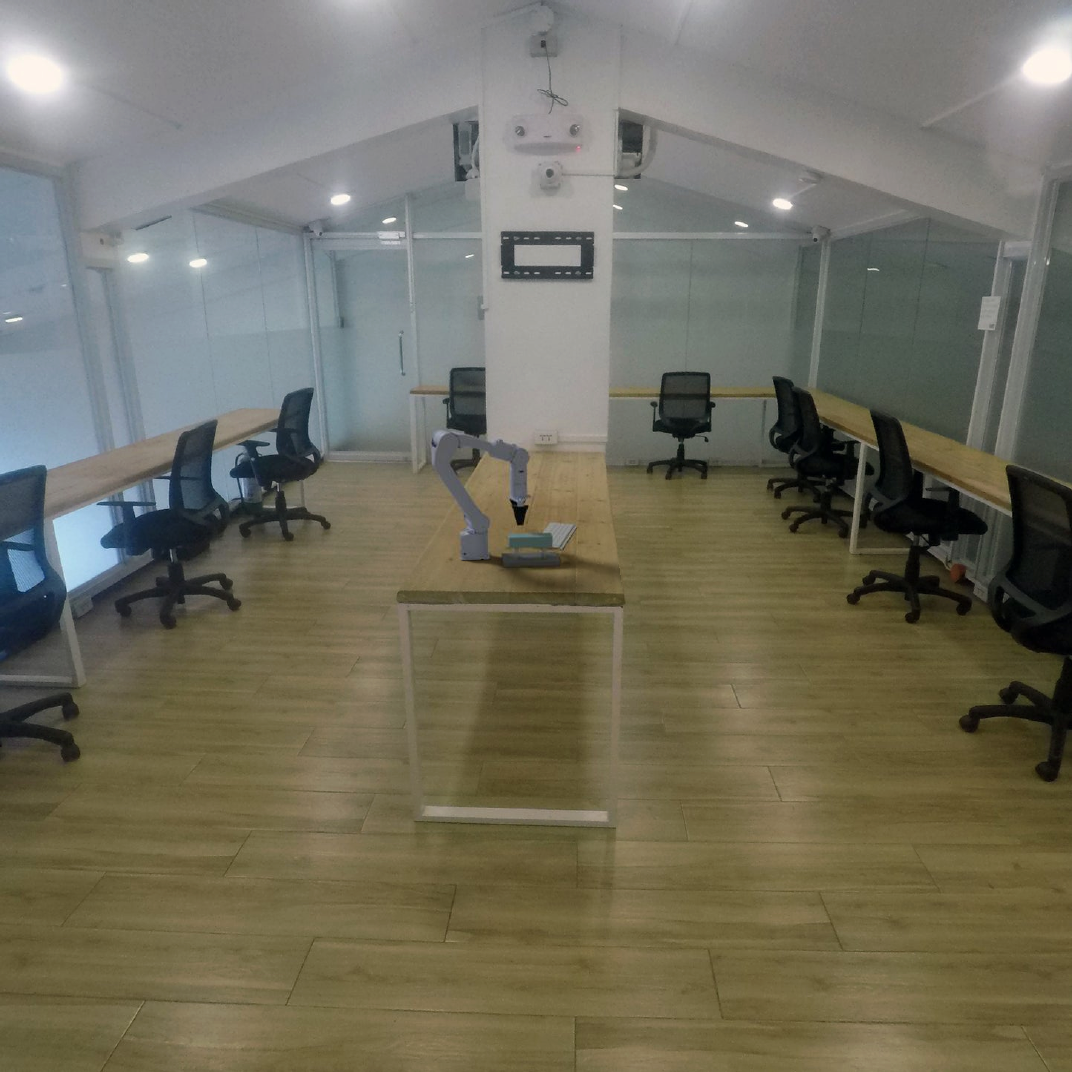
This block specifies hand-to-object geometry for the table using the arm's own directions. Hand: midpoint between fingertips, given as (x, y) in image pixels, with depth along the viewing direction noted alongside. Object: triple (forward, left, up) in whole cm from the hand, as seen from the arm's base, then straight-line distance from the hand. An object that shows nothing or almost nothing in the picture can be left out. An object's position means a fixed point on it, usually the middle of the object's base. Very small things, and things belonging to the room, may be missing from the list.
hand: (519, 522), depth 253 cm
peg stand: (+3, -11, -10) cm, 15 cm away
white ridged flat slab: (+15, +16, -11) cm, 25 cm away
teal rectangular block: (+3, -11, -5) cm, 12 cm away
